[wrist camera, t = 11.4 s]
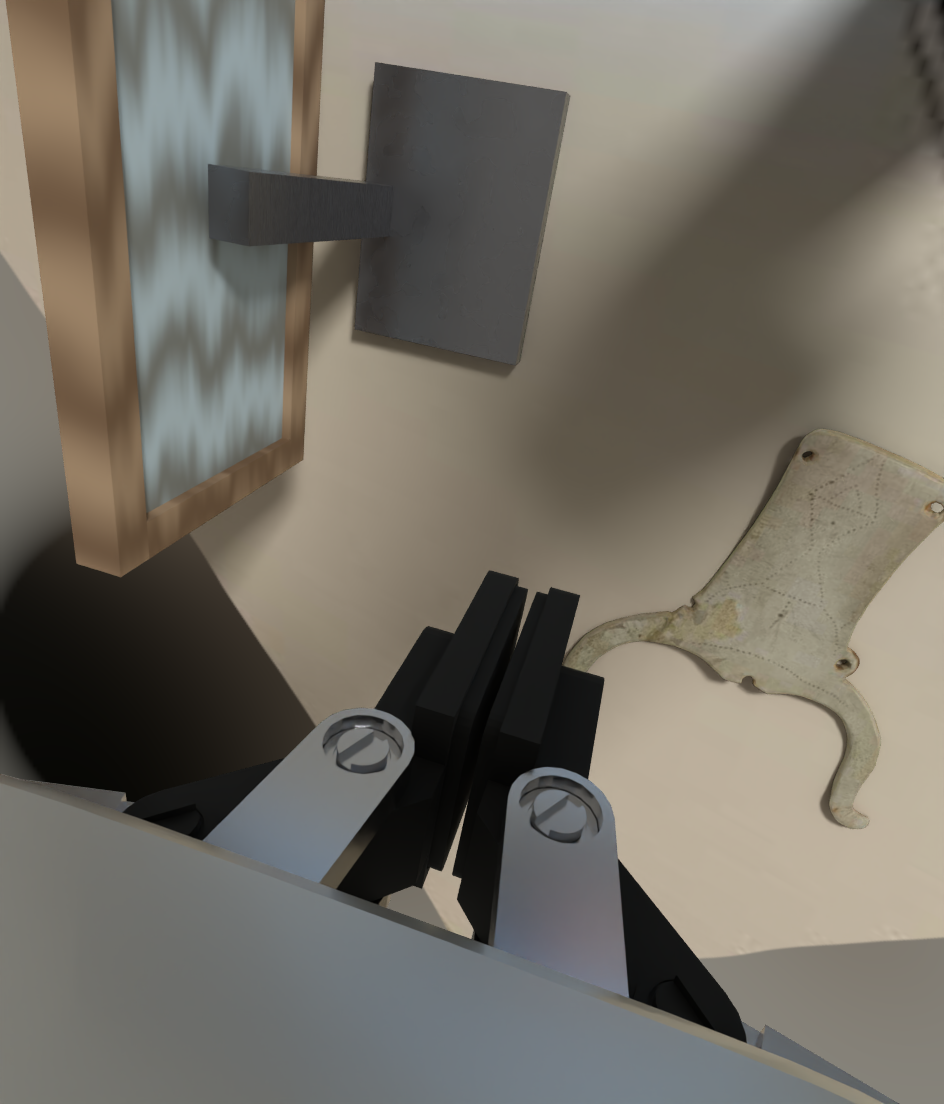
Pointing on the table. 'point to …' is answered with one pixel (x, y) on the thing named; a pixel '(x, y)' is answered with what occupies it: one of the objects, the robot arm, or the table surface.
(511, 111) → the frame stand
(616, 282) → the table surface
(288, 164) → the picture frame
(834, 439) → the decorative wall piece
